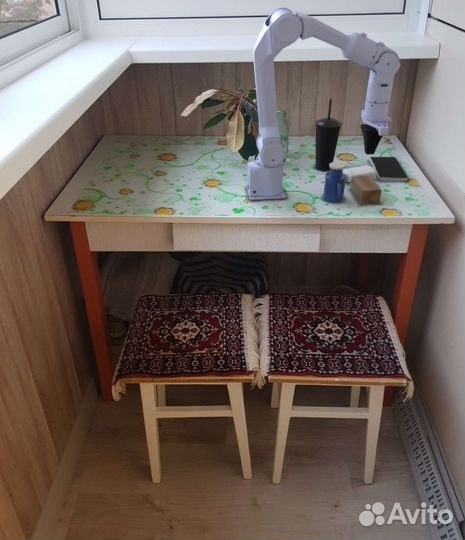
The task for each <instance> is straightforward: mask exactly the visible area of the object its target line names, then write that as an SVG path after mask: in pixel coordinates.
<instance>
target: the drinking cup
mask: <svg viewBox="0 0 465 540" xmlns="http://www.w3.org/2000/svg"><path fill="white" fill-rule="evenodd" d="M332 104H333V99H332V98H329V100H328V112H327V116H324V117H321V118H317V119H316V120H315V121H314V125H315V137H314V138H315V139H314V140H315V143H314V144H315V145H314V146H315V150H314V151H315V155H314V157H315V159H314V160H315V161H314V162H315V164H314V165H315V169H316V170H318V171H321V172H330V167H329V164H330V163H332V162H334V160H335V155H336V152H337V146H338V141H339V136H340V132H341V127H342V126H343V122H342V121H341V120H339V119H337V118H335V117H332V116H331V114H332Z"/></svg>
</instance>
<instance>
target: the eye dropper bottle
mask: <svg viewBox="0 0 465 540" xmlns="http://www.w3.org/2000/svg"><path fill="white" fill-rule="evenodd" d="M343 173H344V174H345V175H346V181H345V183H346V182H347V183H349V184H351V182H352V176H371V177H372V178H373V180H375V179H376V177H377V175H376V171H375V169H374V168H373V167H372V165H367V164H366V165H365V164H364V165H360V166H359V165H358V166H353V167H347V168H343Z"/></svg>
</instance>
